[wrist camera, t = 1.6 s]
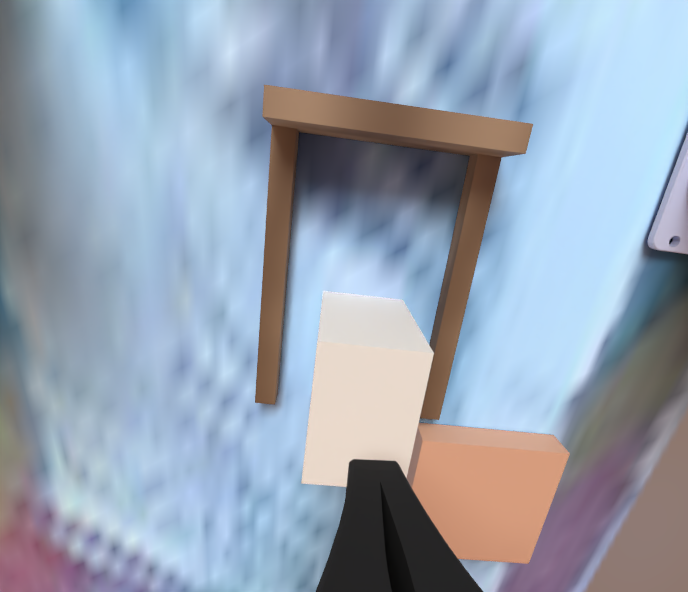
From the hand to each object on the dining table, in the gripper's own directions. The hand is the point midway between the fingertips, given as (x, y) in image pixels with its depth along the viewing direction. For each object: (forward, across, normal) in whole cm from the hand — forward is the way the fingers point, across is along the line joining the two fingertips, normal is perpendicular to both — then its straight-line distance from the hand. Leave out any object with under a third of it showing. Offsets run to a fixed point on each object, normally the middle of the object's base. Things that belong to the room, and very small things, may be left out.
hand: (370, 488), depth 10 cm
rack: (+9, 0, -4) cm, 10 cm away
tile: (+9, -8, +8) cm, 14 cm away
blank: (+9, 0, 0) cm, 9 cm away
